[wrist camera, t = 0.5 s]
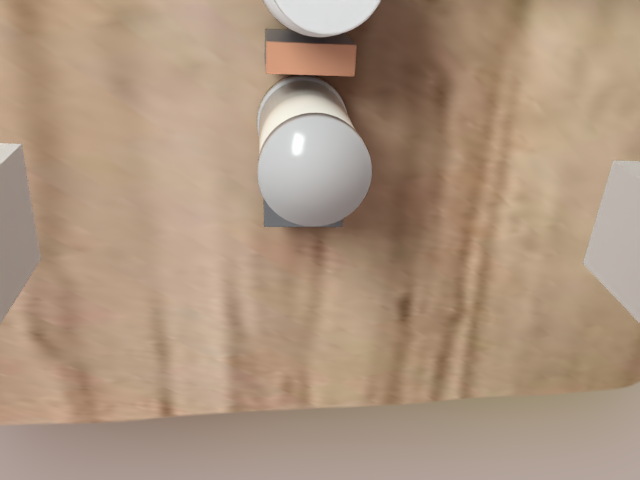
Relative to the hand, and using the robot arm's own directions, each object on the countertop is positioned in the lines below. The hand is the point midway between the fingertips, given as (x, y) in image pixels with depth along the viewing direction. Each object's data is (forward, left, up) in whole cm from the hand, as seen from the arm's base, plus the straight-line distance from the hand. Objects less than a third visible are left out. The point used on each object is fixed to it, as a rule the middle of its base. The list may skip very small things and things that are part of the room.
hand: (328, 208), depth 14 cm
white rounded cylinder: (+4, +1, -22) cm, 23 cm away
